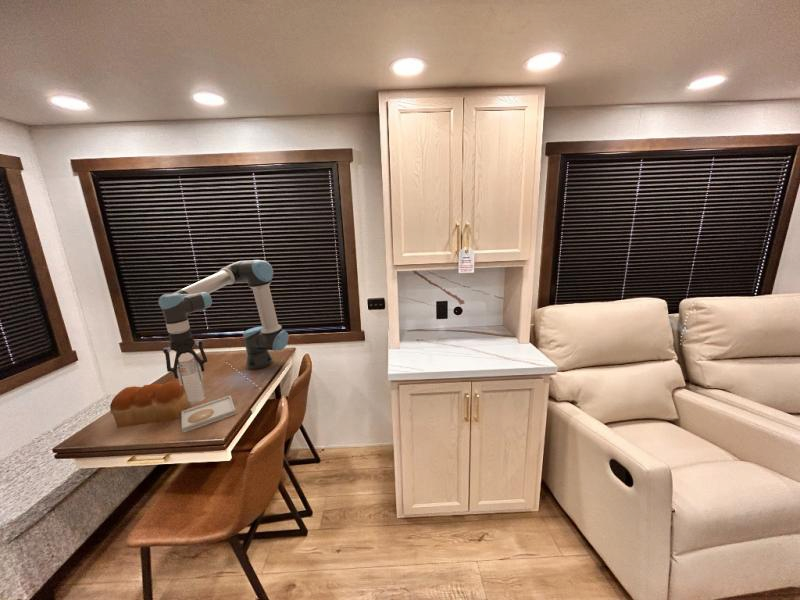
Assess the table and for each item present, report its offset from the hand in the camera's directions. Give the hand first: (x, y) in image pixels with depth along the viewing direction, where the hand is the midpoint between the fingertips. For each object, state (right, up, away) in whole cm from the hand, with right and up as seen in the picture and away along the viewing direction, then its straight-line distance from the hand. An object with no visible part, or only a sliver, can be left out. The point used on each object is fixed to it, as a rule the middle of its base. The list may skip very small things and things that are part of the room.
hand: (192, 381), depth 131 cm
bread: (-23, -19, +10) cm, 31 cm away
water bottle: (+1, -9, +2) cm, 9 cm away
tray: (+3, -17, +7) cm, 19 cm away
